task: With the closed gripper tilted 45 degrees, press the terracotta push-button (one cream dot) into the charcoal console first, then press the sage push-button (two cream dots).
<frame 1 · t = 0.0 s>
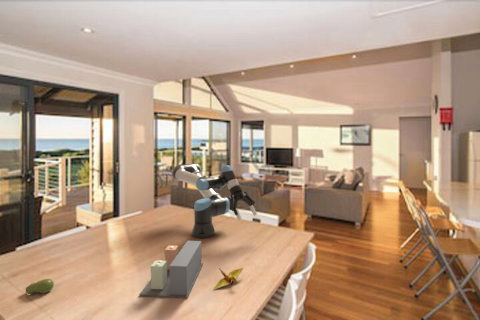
hand: (248, 217, 160), 15 cm above the table, tool tilted 35°, fingers open, 13 cm apart
pear: (40, 292, 107), on the table
console: (187, 279, 117), on the table
button one: (171, 257, 125), point 6 cm above the table, slide at 0.0 cm
origami crane: (229, 283, 115), on the table
button two: (159, 274, 110), point 6 cm above the table, slide at 0.0 cm
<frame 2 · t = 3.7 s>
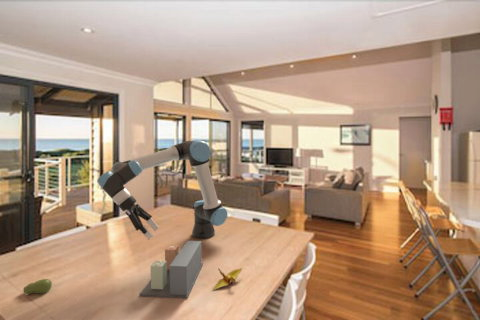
hand: (154, 233, 124), 18 cm above the table, tool tilted 40°, fingers open, 13 cm apart
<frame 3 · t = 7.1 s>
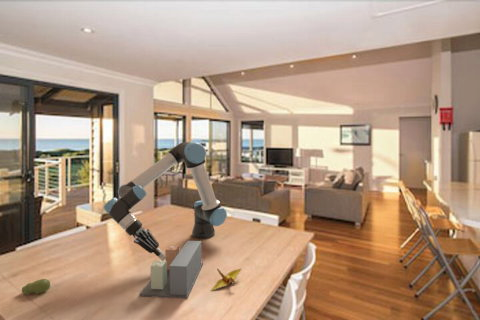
hand: (164, 258, 126), 5 cm above the table, tool tilted 45°, fingers closed
button one: (172, 257, 125), point 6 cm above the table, slide at 0.3 cm, touching gripper
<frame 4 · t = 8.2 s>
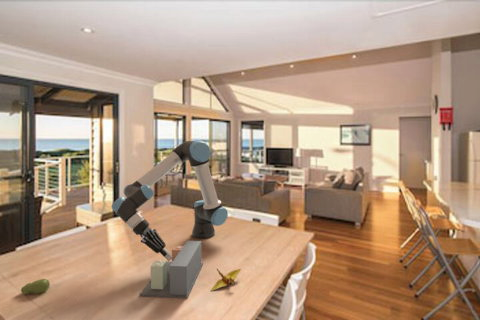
hand: (171, 259, 125), 5 cm above the table, tool tilted 45°, fingers closed
button one: (178, 257, 125), point 6 cm above the table, slide at 3.4 cm, touching gripper
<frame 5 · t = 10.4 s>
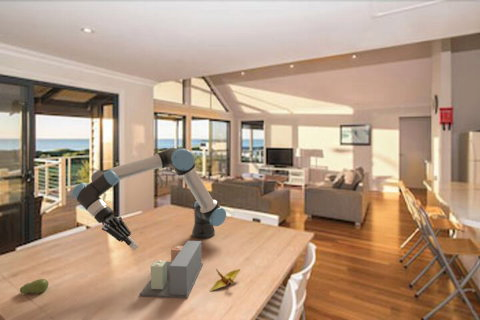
hand: (136, 248, 118), 14 cm above the table, tool tilted 45°, fingers closed
button one: (177, 257, 125), point 6 cm above the table, slide at 3.0 cm
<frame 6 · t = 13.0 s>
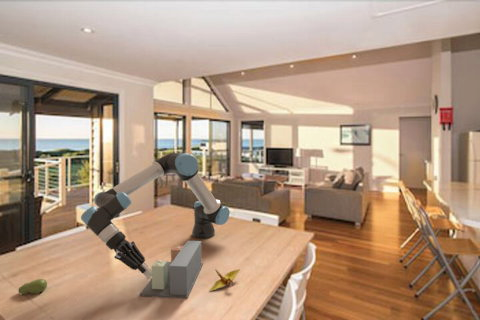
hand: (151, 276, 110), 5 cm above the table, tool tilted 45°, fingers closed
button two: (159, 274, 109), point 6 cm above the table, slide at 0.4 cm, touching gripper
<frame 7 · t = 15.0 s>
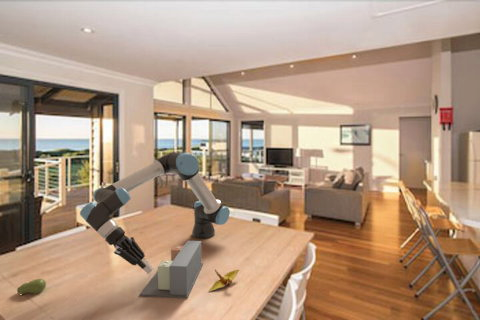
hand: (151, 271, 109), 7 cm above the table, tool tilted 45°, fingers closed
button two: (166, 274, 109), point 6 cm above the table, slide at 3.0 cm
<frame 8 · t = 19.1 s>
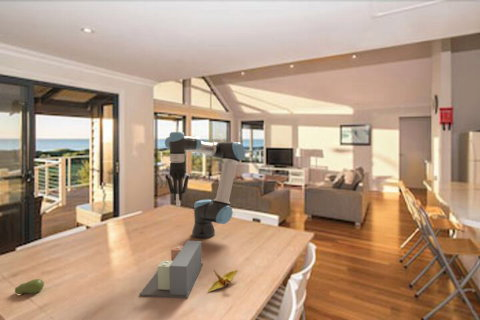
hand: (178, 206, 136), 28 cm above the table, tool pointing down, fingers closed
at the end: button one slide at 3.0 cm; button two slide at 3.0 cm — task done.
